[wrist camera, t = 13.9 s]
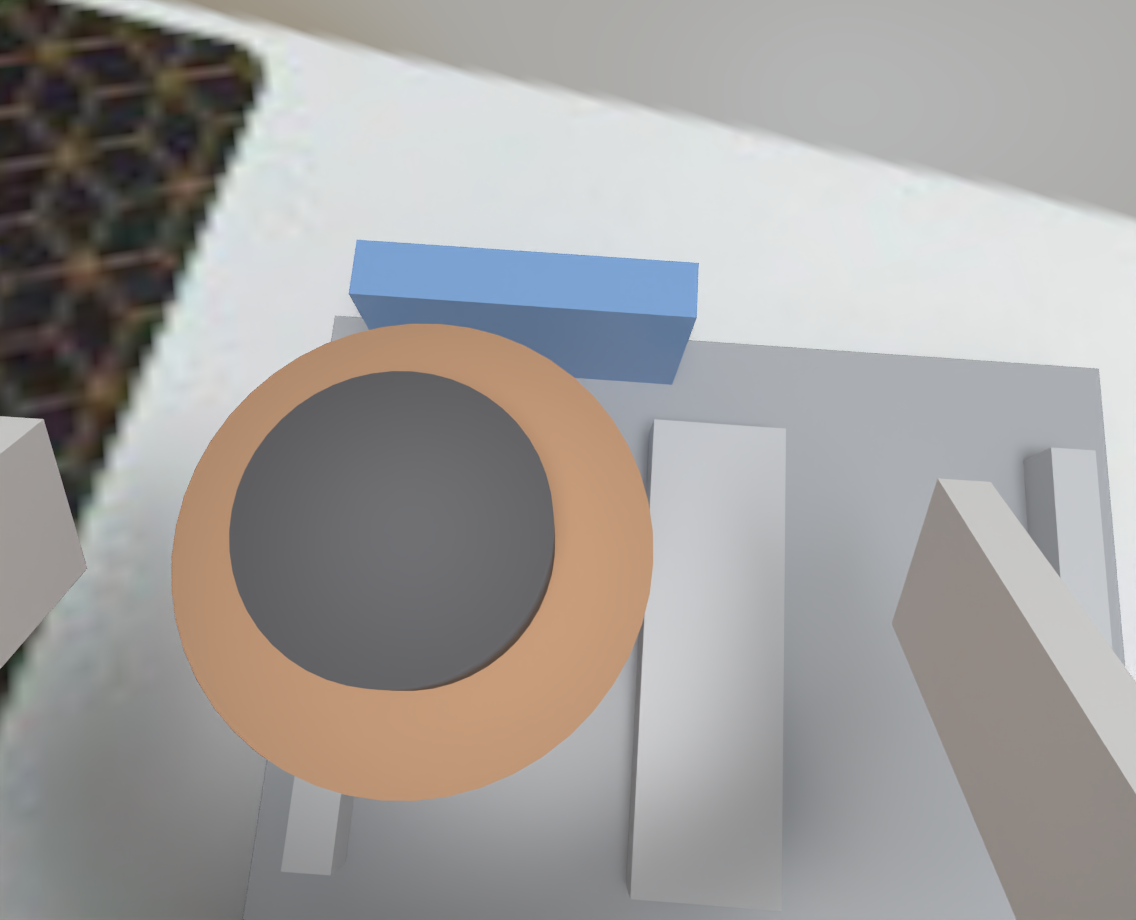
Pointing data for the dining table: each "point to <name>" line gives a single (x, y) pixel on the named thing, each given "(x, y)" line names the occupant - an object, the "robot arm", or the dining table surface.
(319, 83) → the dining table surface
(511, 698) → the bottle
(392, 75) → the dining table surface
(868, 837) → the gray ribbed plate
